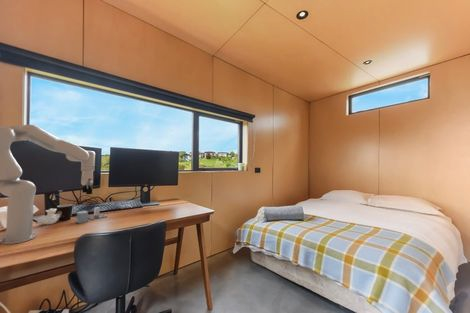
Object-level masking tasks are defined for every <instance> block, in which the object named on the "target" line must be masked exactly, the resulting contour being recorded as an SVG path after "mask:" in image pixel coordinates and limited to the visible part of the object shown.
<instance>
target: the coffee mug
mask: <svg viewBox="0 0 470 313" xmlns="http://www.w3.org/2000/svg"><path fill="white" fill-rule="evenodd" d="M73 207H74V204H71V203H70V204H69V203H65V204H60V205H57V206H56V207H55V208H54V209H57V210H56V213H55V214H60V218H59V219H58V220H57V221H58V222H66V221H67V222H68V221H70V220H71V218H72V213H73Z"/></svg>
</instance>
